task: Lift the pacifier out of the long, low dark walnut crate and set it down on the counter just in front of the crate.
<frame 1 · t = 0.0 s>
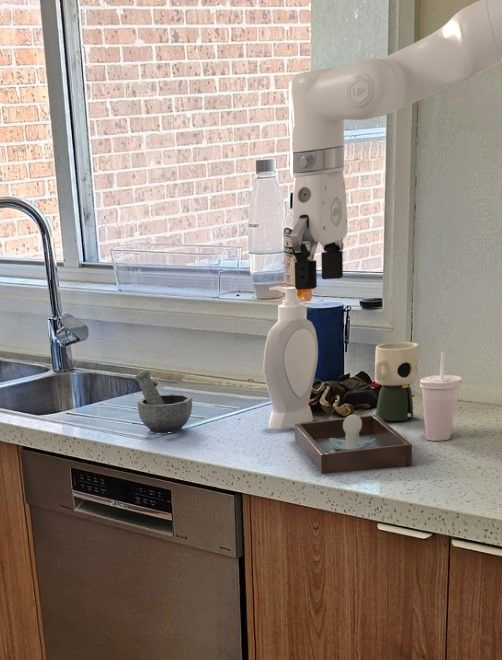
hand: (319, 283, 186), 28 cm above the countertop, tool pointing down, fingers open, 9 cm apart
crate: (350, 454, 198), on the countertop
soap bottle: (285, 426, 222), on the countertop
smoothie: (437, 439, 200), on the countertop
pacifier: (350, 455, 198), resting in crate
mortar and pestle: (163, 437, 227), on the countertop
character mug: (394, 421, 215), on the countertop
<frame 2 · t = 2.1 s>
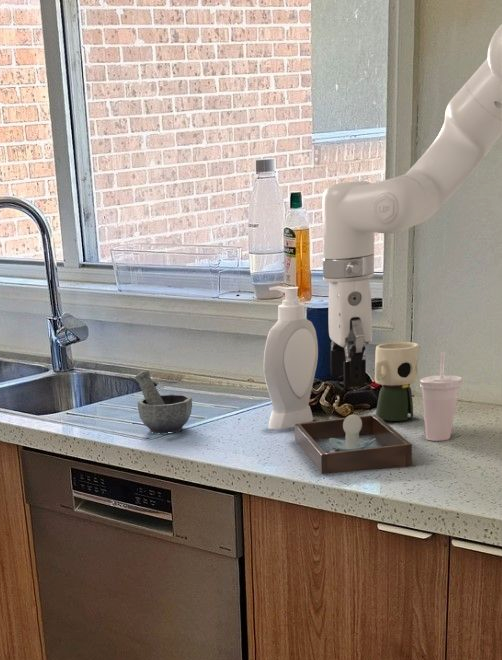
hand: (347, 380, 194), 12 cm above the countertop, tool pointing down, fingers open, 9 cm apart
nothing on the countertop moved.
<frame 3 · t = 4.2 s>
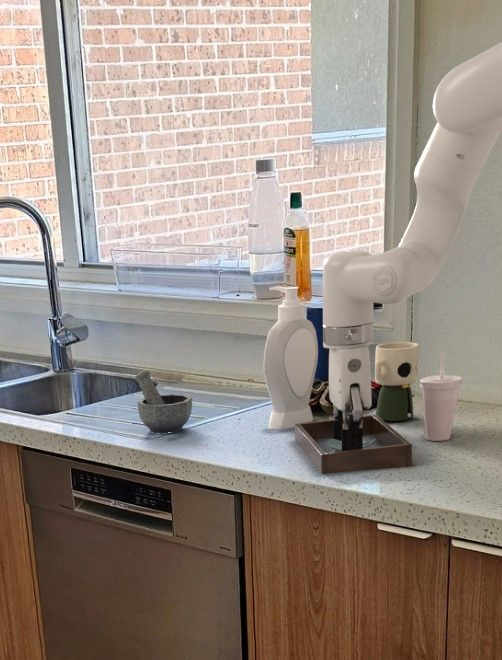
hand: (347, 447, 198), 1 cm above the countertop, tool pointing down, fingers closed on pacifier, 5 cm apart
pacifier: (350, 456, 198), resting in crate, touching gripper
everything else where it was.
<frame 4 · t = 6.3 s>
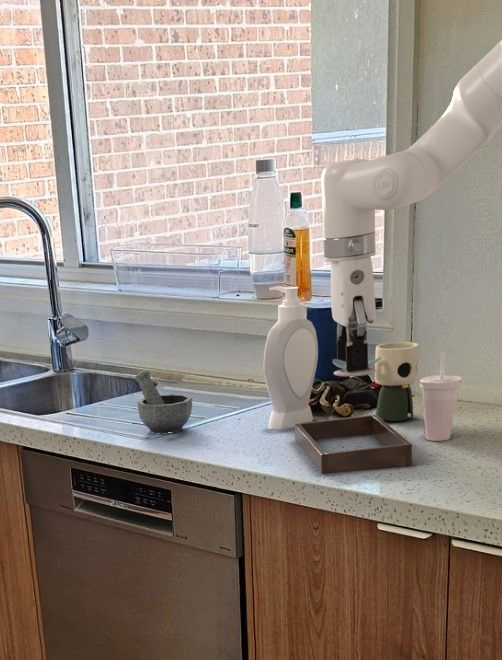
hand: (352, 366, 192), 14 cm above the countertop, tool pointing down, fingers closed on pacifier, 5 cm apart
pacifier: (355, 375, 192), point 13 cm above the countertop, touching gripper
everything else where it was.
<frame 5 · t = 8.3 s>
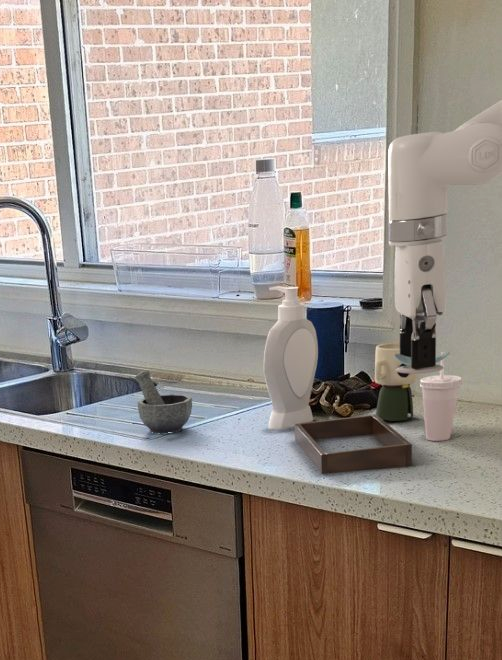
hand: (417, 362, 174), 17 cm above the countertop, tool pointing down, fingers closed on pacifier, 5 cm apart
pacifier: (420, 372, 174), point 16 cm above the countertop, touching gripper
everything else where it was.
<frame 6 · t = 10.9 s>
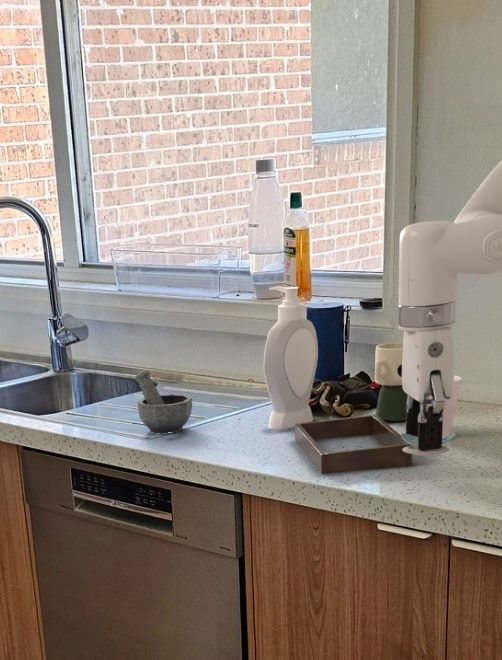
hand: (423, 442, 176), 6 cm above the countertop, tool pointing down, fingers closed on pacifier, 5 cm apart
pacifier: (426, 453, 176), point 5 cm above the countertop, touching gripper
everything else where it was.
when the fingers open (1 cm above the countertop, at t = 12.6 s): pacifier stays where it is, on the countertop.
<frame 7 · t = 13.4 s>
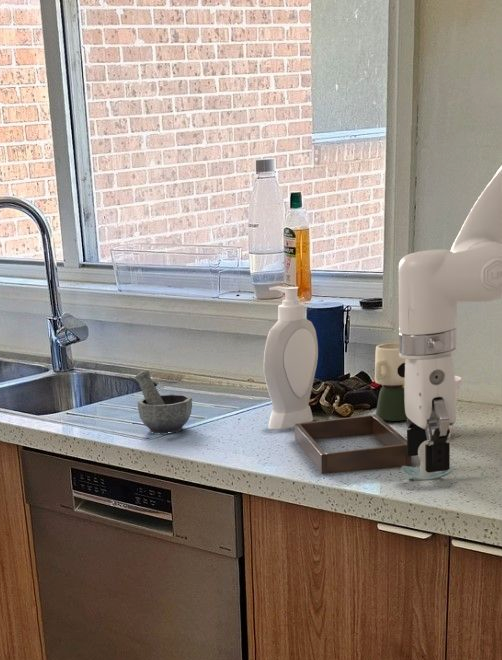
hand: (427, 462, 177), 3 cm above the countertop, tool pointing down, fingers open, 9 cm apart
pacifier: (426, 485, 178), on the countertop
everything else where it was.
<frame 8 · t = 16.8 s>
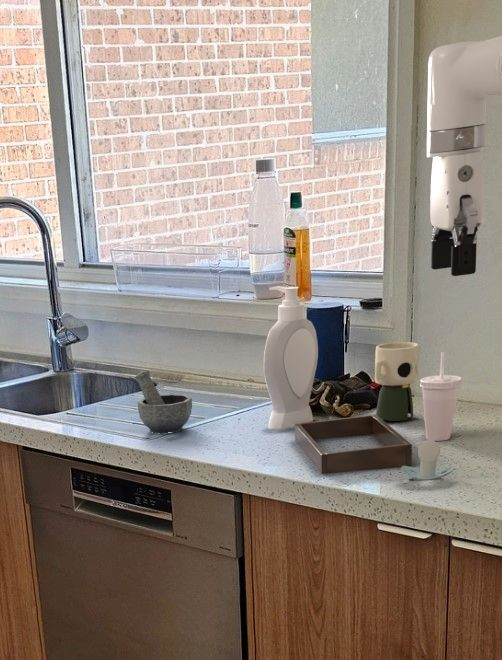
hand: (452, 271, 175), 28 cm above the countertop, tool pointing down, fingers open, 9 cm apart
nothing on the countertop moved.
at the end: pacifier inside the target area (0.7 cm from its centre), on the countertop; the gripper is holding nothing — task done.
